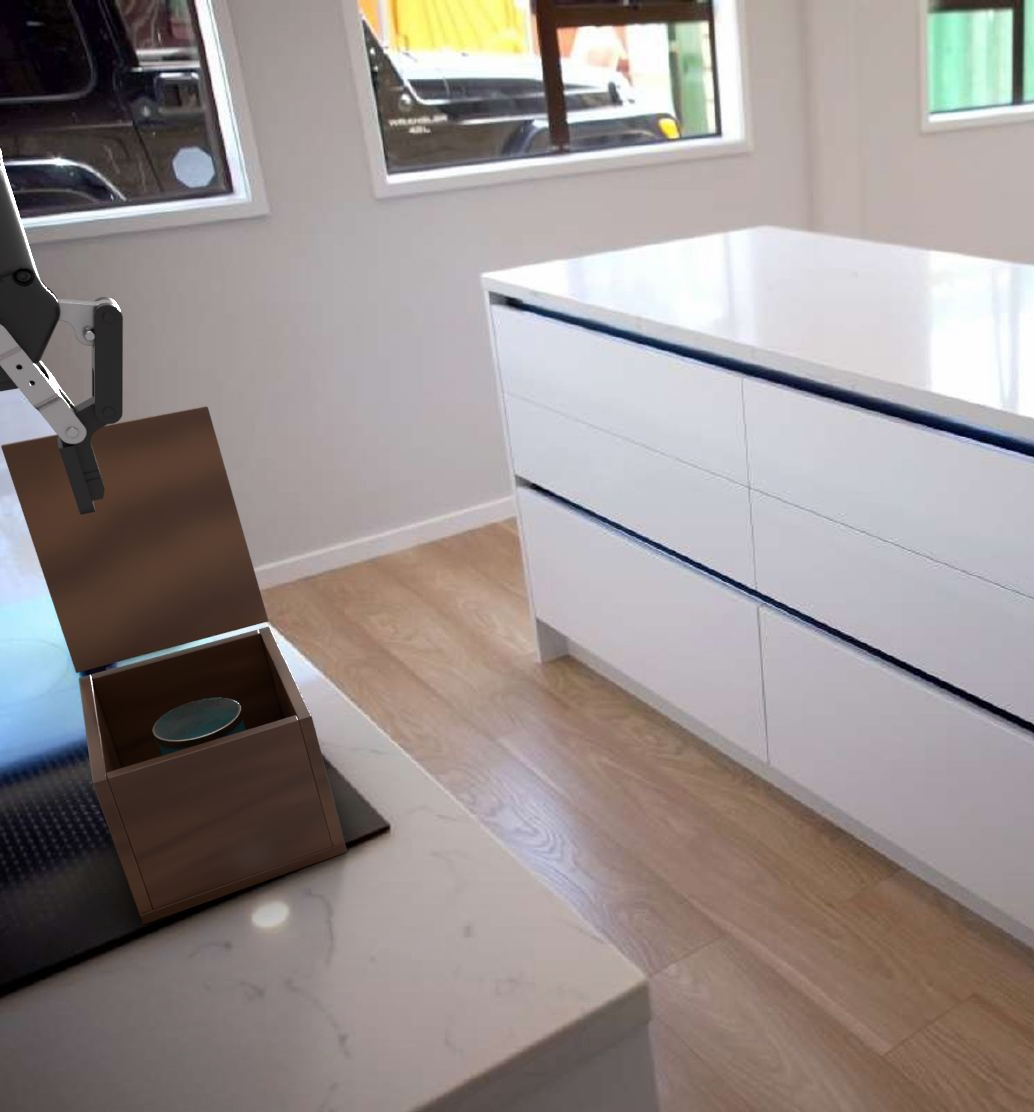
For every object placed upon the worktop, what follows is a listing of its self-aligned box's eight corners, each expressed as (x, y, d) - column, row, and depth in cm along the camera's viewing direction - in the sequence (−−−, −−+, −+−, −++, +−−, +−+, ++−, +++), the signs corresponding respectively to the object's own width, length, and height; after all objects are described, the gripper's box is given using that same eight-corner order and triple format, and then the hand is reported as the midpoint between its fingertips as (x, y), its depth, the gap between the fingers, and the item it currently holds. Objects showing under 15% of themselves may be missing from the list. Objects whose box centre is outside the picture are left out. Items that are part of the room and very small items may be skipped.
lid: (207, 406, 89) (206, 405, 89) (0, 445, 83) (1, 444, 83) (268, 621, 93) (267, 619, 94) (76, 673, 87) (76, 670, 88)
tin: (212, 864, 84) (176, 749, 80) (174, 835, 87) (137, 724, 83) (288, 823, 88) (256, 712, 84) (248, 797, 91) (216, 689, 87)
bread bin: (347, 852, 86) (311, 715, 81) (143, 925, 80) (92, 782, 75) (302, 749, 98) (269, 625, 94) (122, 806, 92) (78, 677, 88)
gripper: (81, 150, 63) (173, 469, 70) (-278, 185, 57) (-137, 534, 64) (90, 162, 57) (190, 510, 64) (-310, 204, 51) (-150, 586, 58)
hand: (27, 520), depth 64 cm, fingers open, 4 cm apart
